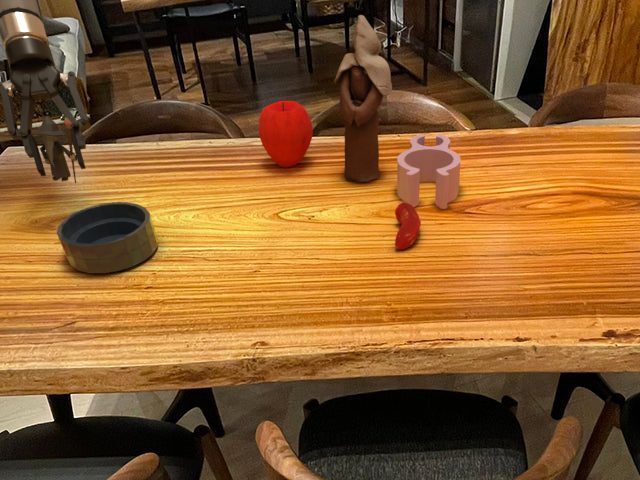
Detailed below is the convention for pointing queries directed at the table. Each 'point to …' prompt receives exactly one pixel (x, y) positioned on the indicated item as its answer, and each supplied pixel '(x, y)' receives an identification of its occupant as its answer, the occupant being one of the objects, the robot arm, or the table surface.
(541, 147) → the table surface
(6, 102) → the robot arm
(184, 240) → the table surface
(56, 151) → the wizard figurine
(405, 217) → the vegetable
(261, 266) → the table surface
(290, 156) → the apple
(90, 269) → the basin
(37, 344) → the table surface
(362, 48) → the sculpture
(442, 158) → the clip
